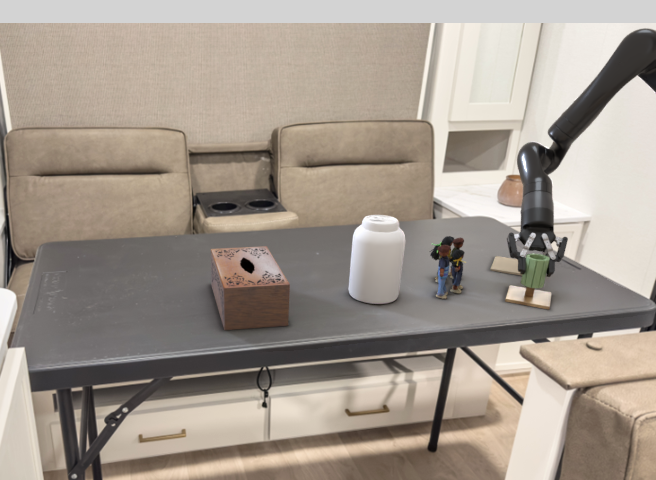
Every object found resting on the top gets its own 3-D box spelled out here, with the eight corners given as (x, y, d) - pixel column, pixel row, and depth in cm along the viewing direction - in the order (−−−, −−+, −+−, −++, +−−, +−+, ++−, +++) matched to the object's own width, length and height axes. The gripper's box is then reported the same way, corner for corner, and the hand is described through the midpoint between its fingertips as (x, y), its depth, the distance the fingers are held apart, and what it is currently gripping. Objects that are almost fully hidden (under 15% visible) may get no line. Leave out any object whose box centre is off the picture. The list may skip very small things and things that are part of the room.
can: (340, 298, 144) (346, 220, 136) (358, 282, 154) (365, 208, 146) (389, 309, 139) (398, 228, 130) (404, 291, 148) (414, 216, 140)
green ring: (544, 282, 145) (550, 255, 142) (542, 289, 141) (549, 262, 138) (521, 278, 147) (527, 252, 145) (519, 286, 143) (525, 258, 140)
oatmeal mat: (539, 264, 168) (539, 262, 168) (536, 278, 158) (537, 276, 158) (495, 257, 173) (495, 255, 173) (490, 270, 163) (490, 268, 163)
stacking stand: (551, 295, 148) (558, 263, 144) (549, 309, 140) (557, 276, 136) (509, 287, 152) (515, 256, 148) (504, 301, 144) (511, 269, 140)
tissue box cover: (288, 325, 130) (289, 284, 126) (224, 330, 128) (223, 288, 124) (265, 282, 153) (266, 246, 149) (211, 285, 151) (210, 248, 147)
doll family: (470, 305, 141) (479, 253, 136) (431, 302, 143) (439, 251, 137) (457, 271, 162) (464, 225, 157) (423, 269, 164) (430, 223, 158)
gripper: (510, 203, 145) (508, 265, 139) (573, 208, 142) (573, 270, 136) (503, 218, 152) (501, 277, 146) (563, 223, 149) (563, 283, 143)
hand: (536, 274), depth 141 cm, fingers closed on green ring, 5 cm apart
